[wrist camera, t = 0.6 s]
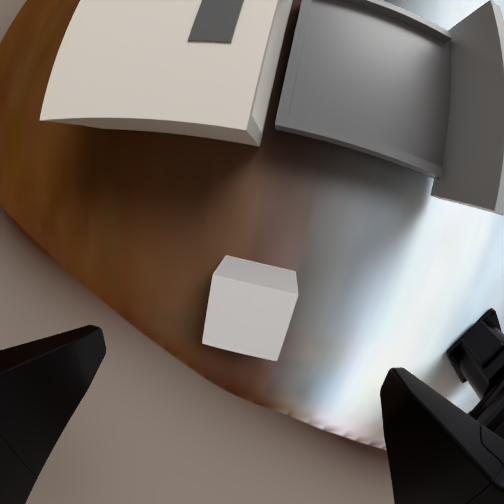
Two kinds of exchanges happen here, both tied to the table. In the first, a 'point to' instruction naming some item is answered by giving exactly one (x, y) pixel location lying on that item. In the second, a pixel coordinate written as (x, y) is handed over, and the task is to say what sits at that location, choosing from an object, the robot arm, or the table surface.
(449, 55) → the grey sliding drawer
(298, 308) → the table surface
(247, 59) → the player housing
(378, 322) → the table surface
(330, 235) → the table surface
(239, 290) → the block
